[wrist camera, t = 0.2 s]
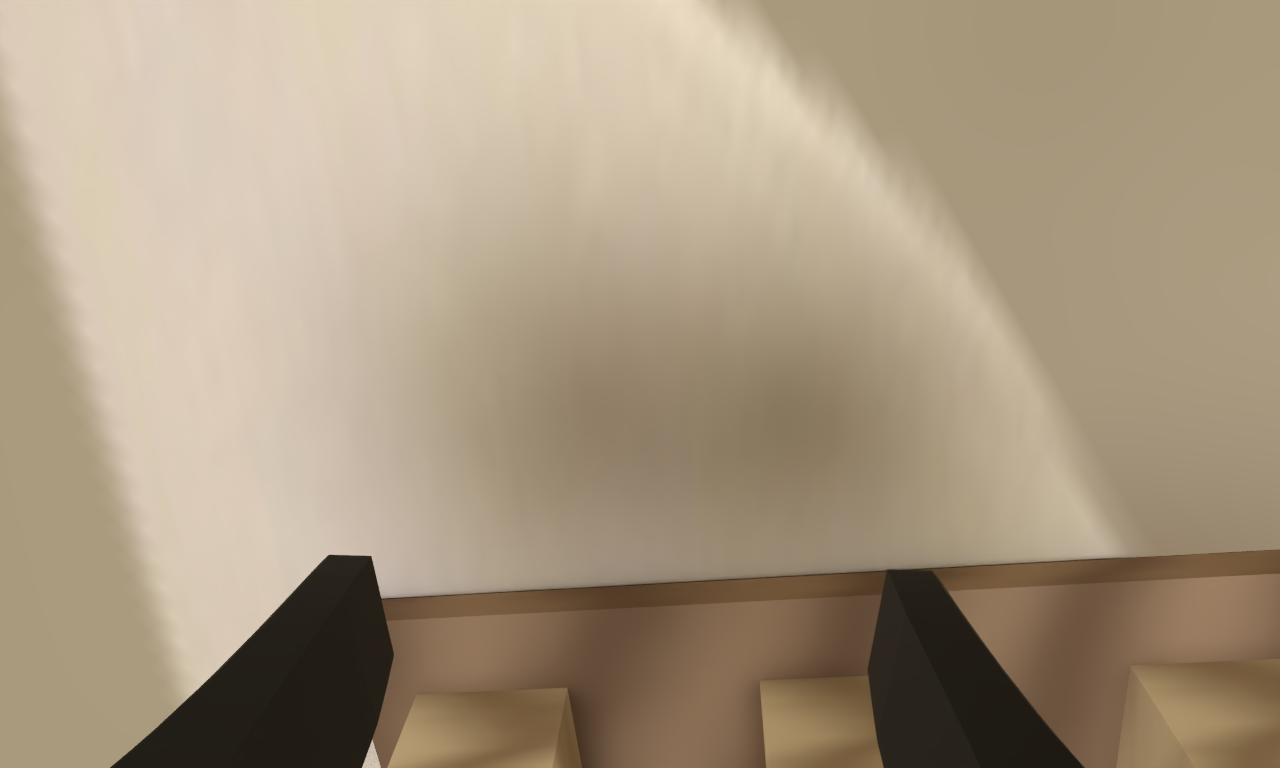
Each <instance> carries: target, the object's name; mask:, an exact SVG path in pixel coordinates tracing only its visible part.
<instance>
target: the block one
mask: <svg viewBox="0 0 1280 768" xmlns="http://www.w3.org/2000/svg"><path fill="white" fill-rule="evenodd" d="M1116 768H1280V659H1266V660H1243V661H1220V662H1198V663H1175V664H1152V665H1130V671H1129V679H1128V686H1127V693H1126V700H1125V708H1124V715H1123V722H1122V729H1121V736H1120V744H1119V751H1118V758H1117V765H1116Z"/></svg>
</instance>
